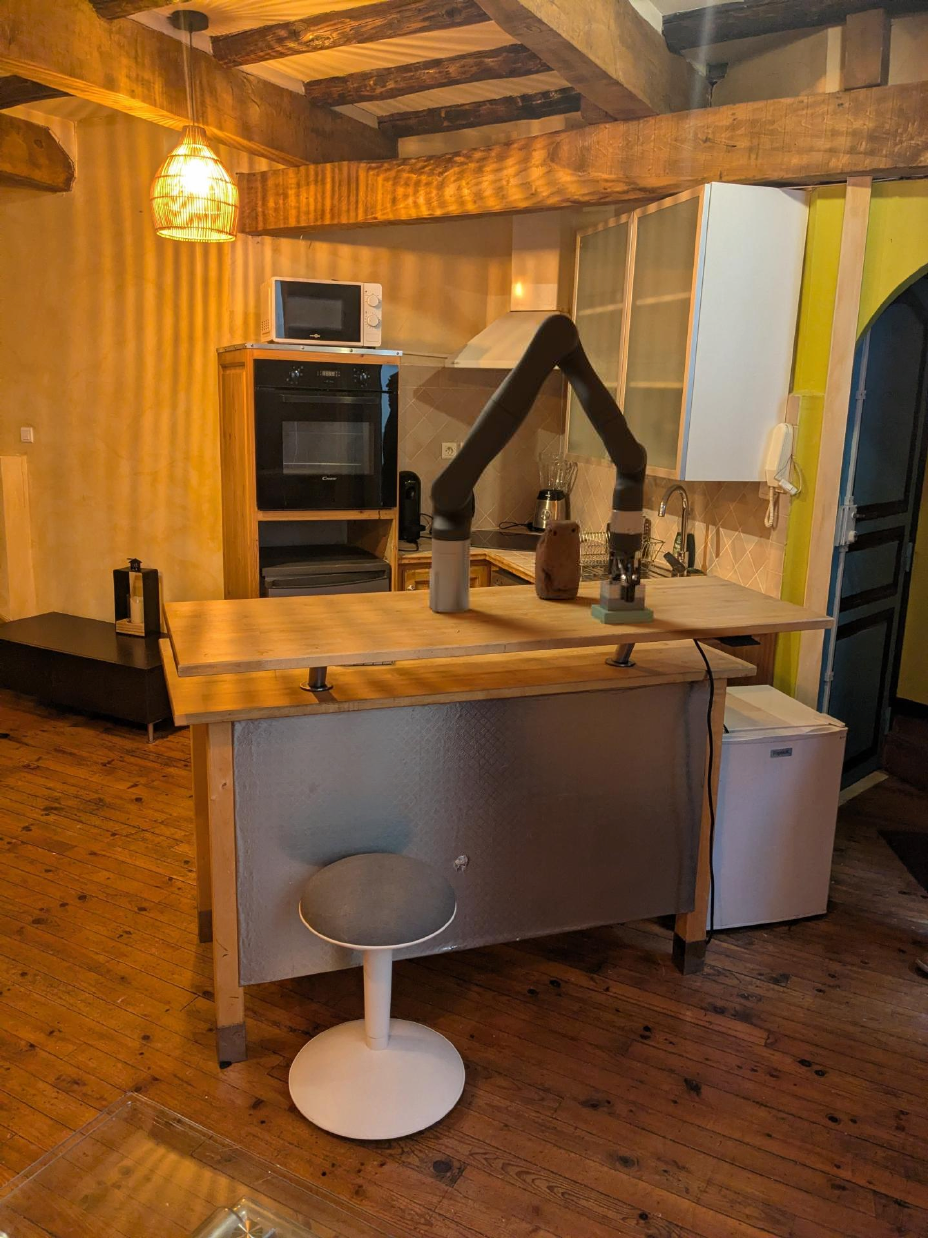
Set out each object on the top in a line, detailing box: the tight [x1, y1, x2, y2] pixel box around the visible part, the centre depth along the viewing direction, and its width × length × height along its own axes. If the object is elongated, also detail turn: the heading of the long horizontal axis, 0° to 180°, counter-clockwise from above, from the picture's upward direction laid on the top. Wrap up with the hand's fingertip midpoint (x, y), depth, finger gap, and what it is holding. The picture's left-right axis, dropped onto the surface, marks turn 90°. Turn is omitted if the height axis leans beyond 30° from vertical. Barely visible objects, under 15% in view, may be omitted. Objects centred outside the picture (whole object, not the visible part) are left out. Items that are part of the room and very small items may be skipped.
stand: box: [590, 604, 655, 624], centre depth 223 cm, size 12×9×2 cm
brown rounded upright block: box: [534, 518, 581, 600], centre depth 244 cm, size 11×8×20 cm
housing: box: [598, 578, 647, 611], centre depth 222 cm, size 9×6×7 cm, turn 103°
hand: (622, 598), depth 222 cm, fingers open, 8 cm apart
